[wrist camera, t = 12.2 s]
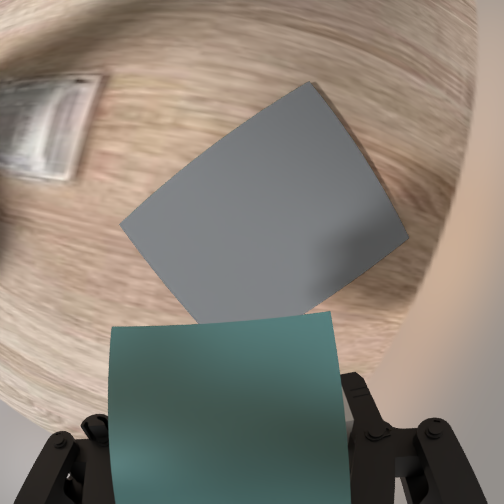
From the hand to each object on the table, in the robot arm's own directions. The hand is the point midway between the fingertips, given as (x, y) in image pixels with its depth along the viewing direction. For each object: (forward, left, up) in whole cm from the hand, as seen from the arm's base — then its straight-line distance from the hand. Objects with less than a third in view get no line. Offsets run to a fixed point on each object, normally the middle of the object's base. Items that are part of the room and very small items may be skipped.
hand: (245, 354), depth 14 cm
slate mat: (+4, +3, -11) cm, 12 cm away
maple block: (-2, -4, 0) cm, 5 cm away
